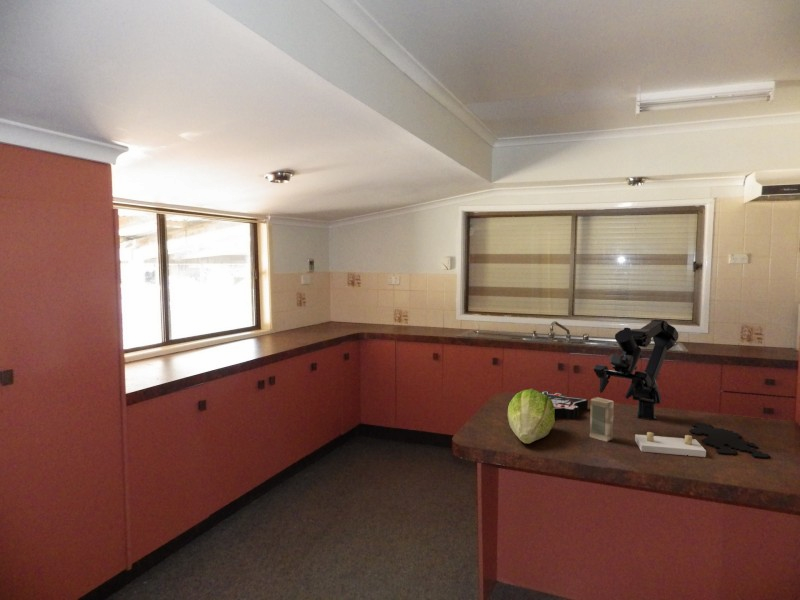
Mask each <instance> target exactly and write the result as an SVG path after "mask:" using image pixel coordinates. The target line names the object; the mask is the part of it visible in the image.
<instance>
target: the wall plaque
mask: <svg viewBox="0 0 800 600" xmlns="http://www.w3.org/2000/svg"><path fill="white" fill-rule="evenodd" d="M521 391H522V390H521ZM521 391H518V393H519V392H521ZM540 392H541V393H543V394H545V395H546V396H547V397H549V398H550V399H551V400H552V403H553V405H554V408H555V419H567V420H574V419H576V418H578V417H579V412H583V411H587V410H588V408H589V407H588V406H589V400H588V398H587V399H586V398H578V397H572V396H571V397H570V396H565V395H564V394H563V393H561V392H554V393H551V392H550V391H549V390H547V391H543V390H542V391H540Z"/></svg>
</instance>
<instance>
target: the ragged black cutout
mask: <svg viewBox="0 0 800 600" xmlns="http://www.w3.org/2000/svg"><path fill="white" fill-rule="evenodd" d="M691 427H692V428H690V429H688V432H689V433H690V434H691V435H695V436H701V437H702V436H705V437H706V438H703V439H702V438H701V442H702V443H703V444H704V445H705V446H709V447H711V448H712V447H713V448H714V449H715V453H717V454H718V455H720V454H721V455H723V456H724V455H725V456H733V457H734V456H736V455H739V454H738V453H739V452H741V453H747V454H750V456H751V457H752V458H753V459H762V460H769V459H771V455H769V454H768V453H764V452H763V451H761V450H759V446H758V445H756V444H755V443H754V442H750V441H745V440H742V439H743V436H742V435H741V434H740V433H738V432H734V431H732V430H729V429H725V428H719V427H718V428H717V427H714V425H712V424H708V423H703V422H695V423H691ZM693 427H694V428H693Z"/></svg>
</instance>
